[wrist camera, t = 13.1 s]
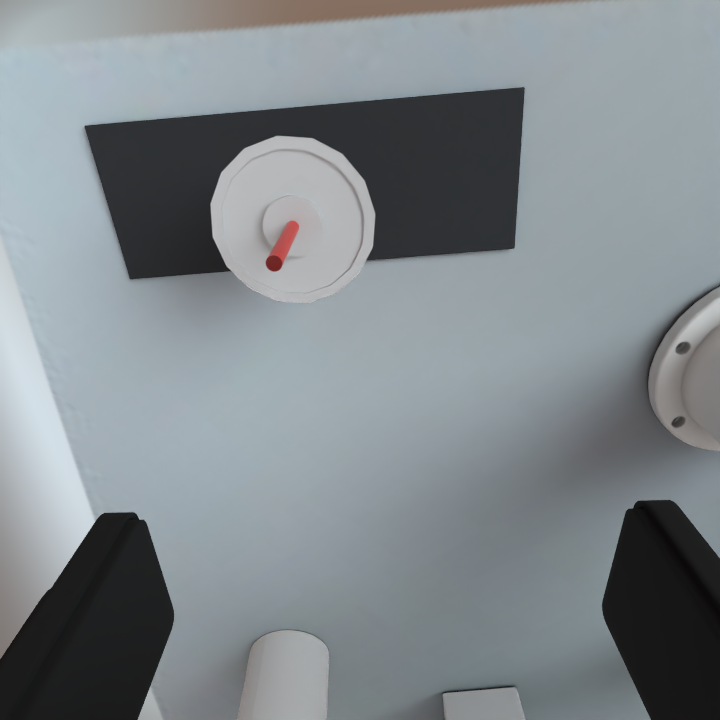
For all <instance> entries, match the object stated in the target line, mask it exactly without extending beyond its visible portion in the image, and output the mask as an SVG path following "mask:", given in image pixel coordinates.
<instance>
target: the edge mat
mask: <svg viewBox="0 0 720 720" xmlns="http://www.w3.org/2000/svg"><path fill="white" fill-rule="evenodd" d="M524 89H525V88H524V87H522V88H511V89H499V90H488V91H477V92H465V93H454V94H442V95H431V96H420V97H408V98H397V99H385V100H374V101H363V102H351V103H340V104H328V105H317V106H305V107H294V108H283V109H271V110H260V111H248V112H237V113H226V114H214V115H203V116H191V117H180V118H169V119H157V120H146V121H134V122H123V123H112V124H100V125H89V126H85V130H86V133H87V136H88V140H89V143H90V146H91V150H92V153H93V156H94V160H95V163H96V166H97V170H98V173H99V176H100V180H101V183H102V186H103V190H104V193H105V196H106V200H107V203H108V206H109V210H110V213H111V216H112V220H113V223H114V227H115V230H116V233H117V237H118V240H119V243H120V247H121V250H122V253H123V257H124V260H125V263H126V267H127V270H128V273H129V277H130V279H139V278H151V277H164V276H176V275H189V274H201V273H214V272H226V271H231V270H230V269H229V268H228V267H227V266H226V264H225V262H224V260H223V258H222V255H221V253H220V251H219V249H218V247H217V245H216V243H215V241H214V239H213V234H212V219H211V205H210V204H211V201H212V198H213V195H214V192H215V189H216V186H217V183H218V181H219V178H220V175H221V172H222V171H223V170H224V169H225V168H226V167H227V166H228V165H229V164H230V163H231V162H232V161H233V160H234V159H235V158H236V157H237V156H238V154H239V153H240V152H241V151H242V150H243V149H244V148H246V147H249V146H252V145H254V144H257V143H259V142H262V141H265V140H267V139H270V138H273V137H275V136H289V137H303V138H313V139H315V140H317V141H319V142H321V143H323V144H325V145H327V146H328V147H330V148H332V149H334V150H336V151H338V152H340V153H342V154H343V155H344V156H345V158H346V159H347V160H348V161H349V162H350V164H351V165H352V166H353V167H354V168H355V170H356V171H357V172H358V173H359V174H360V176H361V177H362V178H363V179H364V181H365V183H366V186H367V189H368V192H369V196H370V199H371V202H372V205H373V208H374V211H375V226H374V239H373V248H372V250H371V252H370V254H369V256H368V258H367V260H376V259H389V258H401V257H414V256H426V255H439V254H451V253H464V252H476V251H489V250H501V249H514V246H515V230H516V214H517V199H518V183H519V167H520V152H521V136H522V120H523V105H524Z"/></svg>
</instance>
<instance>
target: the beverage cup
mask: <svg viewBox="0 0 720 720" xmlns="http://www.w3.org/2000/svg"><path fill="white" fill-rule="evenodd" d="M210 205H211V219H212V234H213V239H214V241H215V243H216V245H217V247H218V249H219V251H220V253H221V255H222V258H223V260H224V262H225V264H226V266H227V267H228V268H229V269H230V270H231V271H232V272H233V273H234V274H235V275H236V276H237V277H238V278H239V279H240V280H241V281H242V282H243V283H244V284H245V285H246V286H247V287H248V288H249V289H251V290H253V291H256V292H258V293H260V294H262V295H265V296H267V297H269V298H272V299H274V300H276V301H280V302H298V303H310V302H313V301H316V300H319V299H322V298H325V297H328V296H331V295H334V294H337V293H338V292H339V291H340V290H341V289H342V288H344V287H345V286H346V285H347V284H348V283H349V282H351V281H352V280H353V279H354V278H355V277H356V276H358V275H359V273H360V271H361V269H362V267H363V265H364V263H365V261H366V260H367V258H368V256H369V254H370V252H371V250H372V248H373V239H374V226H375V211H374V208H373V205H372V202H371V199H370V196H369V192H368V189H367V186H366V183H365V181H364V179H363V178H362V177H361V176H360V174H359V173H358V172H357V171H356V170H355V168H354V167H353V166H352V165H351V164H350V162H349V161H348V160H347V159H346V158H345V156H344V155H343V154H342V153H340V152H338V151H336V150H334V149H332V148H330V147H328V146H327V145H325V144H323V143H321V142H319V141H317V140H315V139H313V138H303V137H289V136H275V137H273V138H270V139H267V140H265V141H262V142H259V143H257V144H254V145H252V146H249V147H246V148H244V149H243V150H242V151H241V152H240V153H239V154H238V156H237V157H236V158H235V159H234V160H233V161H232V162H231V163H230V164H229V165H228V166H227V167H226V168H225V169H224V170H223V171H222V172H221V175H220V178H219V181H218V183H217V186H216V189H215V192H214V195H213V198H212V201H211V204H210Z"/></svg>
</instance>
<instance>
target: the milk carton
mask: <svg viewBox="0 0 720 720" xmlns="http://www.w3.org/2000/svg"><path fill="white" fill-rule="evenodd" d="M442 696H443V707H444V718H445V720H526V719H525V716H524V712H523V709H522V705H521V702H520V698H519V695H518V691H517V688H516V687H510V688H498V689H487V690H475V691H464V692H452V693H444V694H443V695H442Z"/></svg>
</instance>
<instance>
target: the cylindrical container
mask: <svg viewBox="0 0 720 720" xmlns="http://www.w3.org/2000/svg"><path fill="white" fill-rule="evenodd" d="M328 677H329V651H328V648H327V646H326V645H325V644H324V643H323V642H322V641H321V640H320V639H318V638H317V637H315V636H313V635H311V634H308V633H305V632H301V631H294V630H281V631H275V632H271V633H268V634H266V635H264V636H262V637H260V638H259V639H258V640H256V642H255V643H254V644H253V645H252V648H251V651H250V656H249V661H248V666H247V672H246V677H245V682H244V687H243V693H242V698H241V703H240V708H239V714H238V719H237V720H327V699H328Z"/></svg>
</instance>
